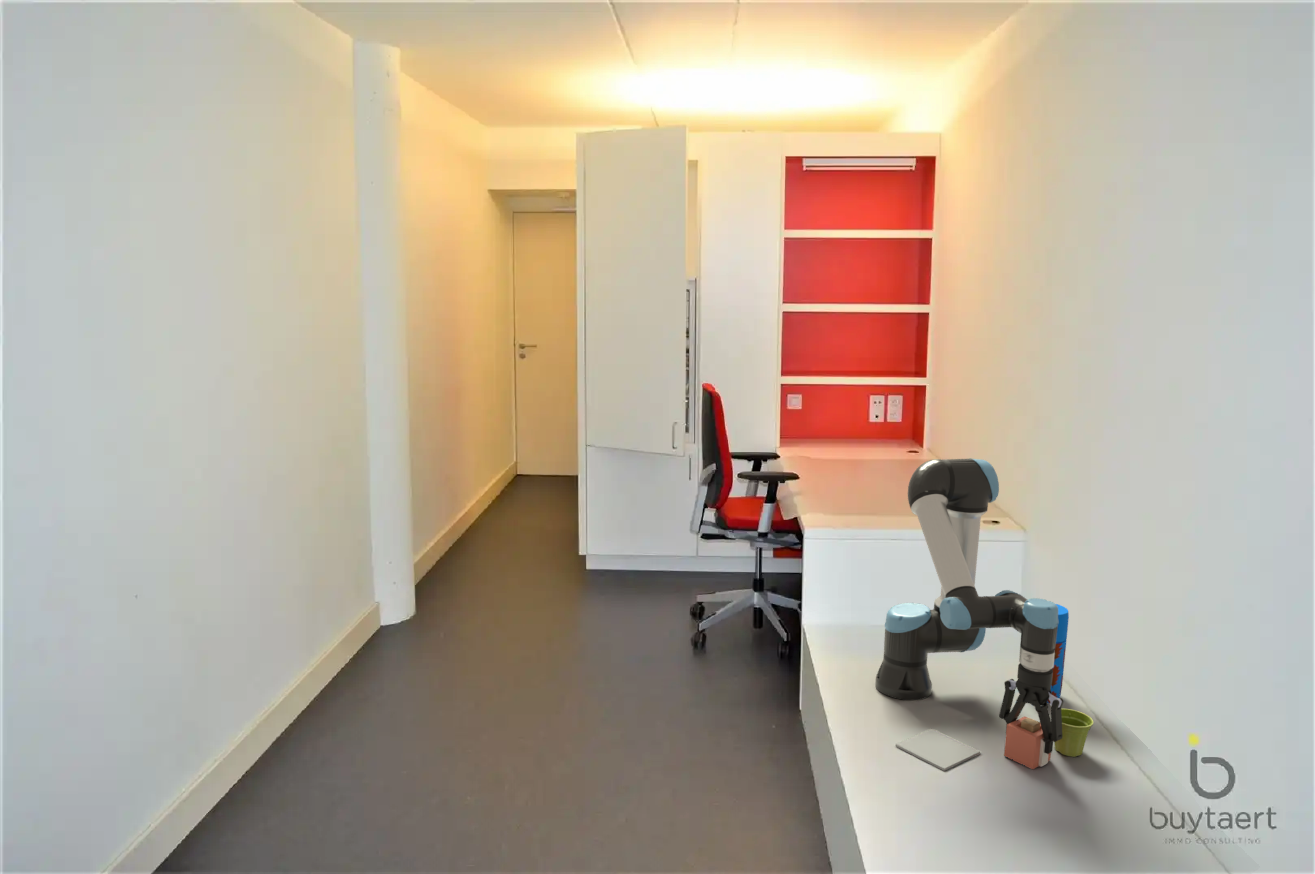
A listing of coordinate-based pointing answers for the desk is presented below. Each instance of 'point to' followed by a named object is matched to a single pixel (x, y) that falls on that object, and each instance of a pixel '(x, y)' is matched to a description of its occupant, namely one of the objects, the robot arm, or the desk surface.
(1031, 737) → the salmon square sleeve
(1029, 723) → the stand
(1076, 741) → the plant pot
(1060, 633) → the thermos
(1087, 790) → the desk surface
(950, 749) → the coaster
